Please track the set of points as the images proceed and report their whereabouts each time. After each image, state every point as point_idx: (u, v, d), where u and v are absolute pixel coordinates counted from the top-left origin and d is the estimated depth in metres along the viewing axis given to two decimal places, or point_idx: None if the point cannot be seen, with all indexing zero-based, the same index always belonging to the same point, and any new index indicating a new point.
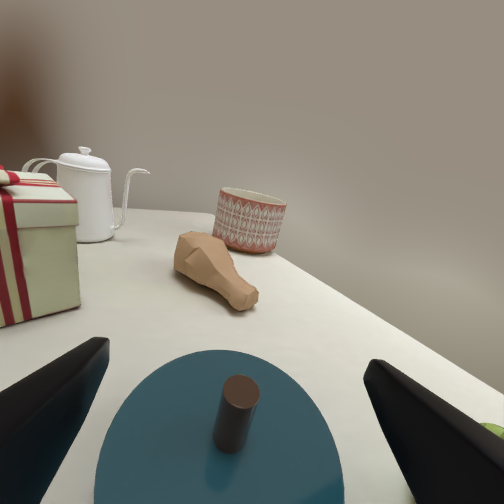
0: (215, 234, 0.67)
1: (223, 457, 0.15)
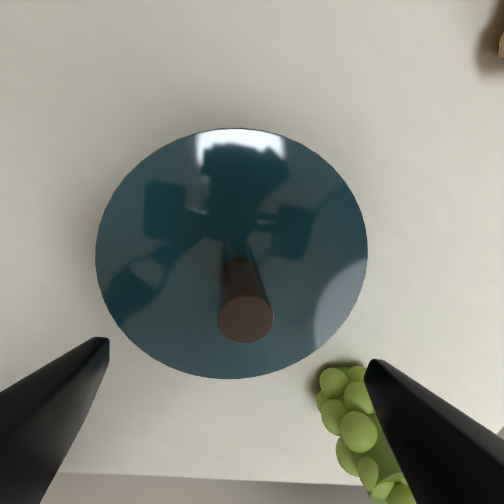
0: None
1: (218, 288, 0.14)
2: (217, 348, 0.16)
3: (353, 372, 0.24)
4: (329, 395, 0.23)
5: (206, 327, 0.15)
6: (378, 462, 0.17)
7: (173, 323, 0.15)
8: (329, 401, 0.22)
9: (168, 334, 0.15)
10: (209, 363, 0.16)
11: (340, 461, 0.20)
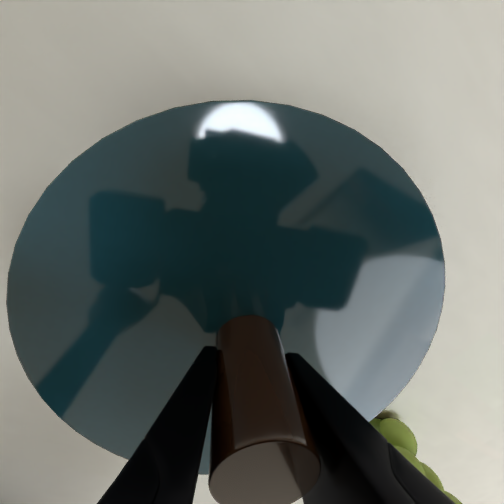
0: None
1: None
2: None
3: (388, 429, 0.19)
4: None
5: None
6: None
7: (145, 409, 0.09)
8: None
9: (138, 423, 0.10)
10: (201, 457, 0.11)
11: None
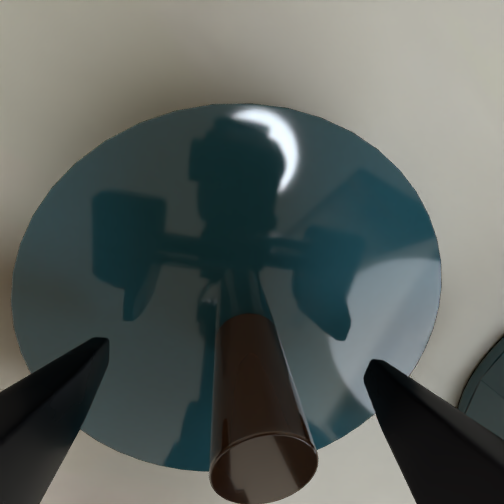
0: None
1: (213, 356, 0.09)
2: None
3: None
4: None
5: (196, 409, 0.10)
6: None
7: (146, 406, 0.10)
8: None
9: (139, 420, 0.10)
10: (201, 454, 0.11)
11: None
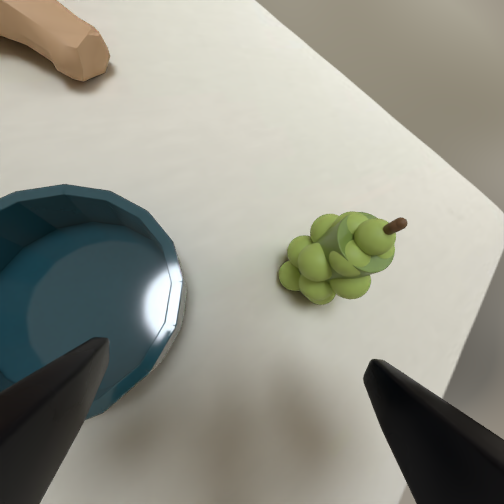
0: None
1: None
2: None
3: None
4: (296, 283, 0.20)
5: None
6: (330, 248, 0.15)
7: None
8: (299, 284, 0.20)
9: None
10: None
11: (347, 295, 0.17)
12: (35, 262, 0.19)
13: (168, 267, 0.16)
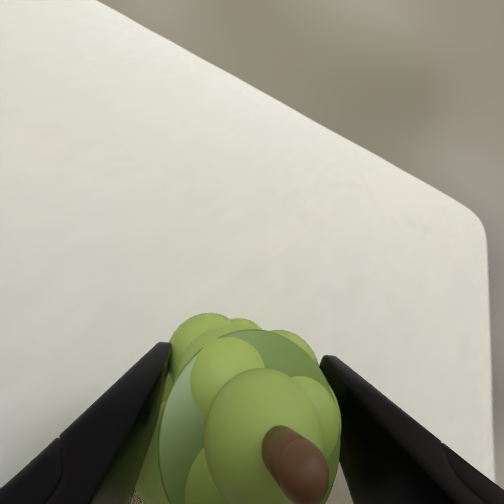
0: None
1: None
2: None
3: None
4: None
5: None
6: None
7: None
8: None
9: None
10: None
11: None
12: None
13: None
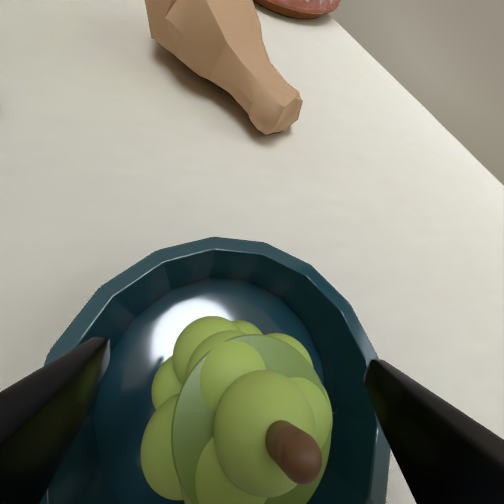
0: None
1: None
2: None
3: None
4: None
5: None
6: None
7: None
8: None
9: None
10: None
11: None
12: (177, 312, 0.15)
13: None
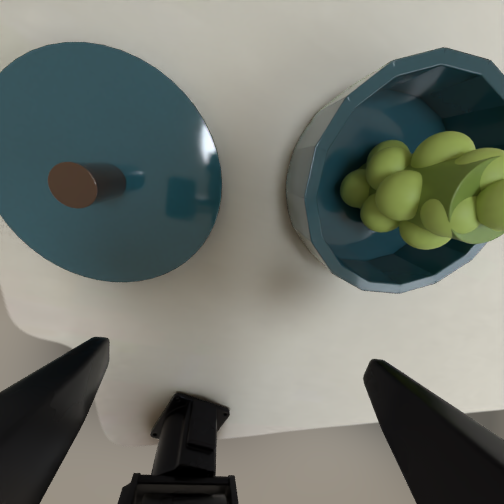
0: None
1: None
2: (119, 252, 0.18)
3: (369, 158, 0.17)
4: (359, 201, 0.17)
5: (101, 234, 0.18)
6: (435, 195, 0.11)
7: (72, 236, 0.18)
8: (362, 205, 0.17)
9: (73, 247, 0.18)
10: (119, 268, 0.19)
11: (413, 244, 0.14)
12: (380, 114, 0.18)
13: None
